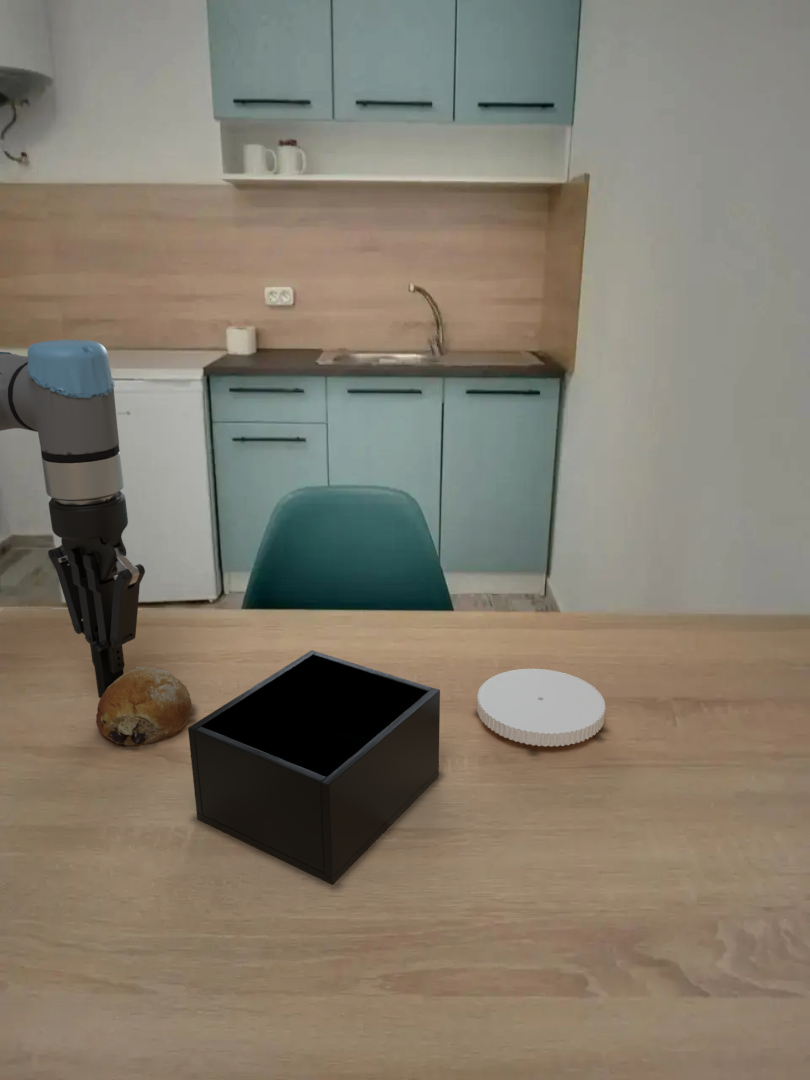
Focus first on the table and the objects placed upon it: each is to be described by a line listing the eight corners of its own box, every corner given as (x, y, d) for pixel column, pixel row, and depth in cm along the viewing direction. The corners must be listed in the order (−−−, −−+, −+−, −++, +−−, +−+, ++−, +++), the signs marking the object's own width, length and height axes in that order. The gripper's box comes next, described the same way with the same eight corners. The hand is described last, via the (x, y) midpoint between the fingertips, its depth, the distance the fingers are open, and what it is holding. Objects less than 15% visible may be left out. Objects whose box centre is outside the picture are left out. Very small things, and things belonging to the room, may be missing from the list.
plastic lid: (463, 741, 88) (464, 721, 87) (490, 679, 101) (491, 661, 100) (597, 764, 84) (599, 743, 84) (608, 697, 97) (610, 678, 96)
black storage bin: (196, 819, 76) (187, 727, 73) (315, 730, 90) (311, 649, 87) (332, 885, 69) (328, 785, 65) (438, 776, 83) (440, 689, 79)
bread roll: (202, 751, 93) (219, 681, 93) (130, 758, 84) (149, 681, 84) (143, 724, 98) (160, 658, 98) (69, 728, 89) (88, 655, 90)
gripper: (157, 495, 86) (177, 695, 94) (77, 476, 92) (101, 665, 100) (97, 514, 80) (124, 726, 88) (15, 493, 86) (47, 692, 94)
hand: (112, 693), depth 94 cm, fingers closed
